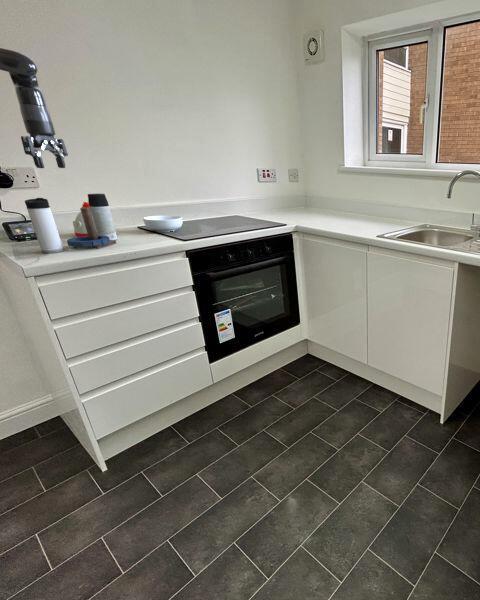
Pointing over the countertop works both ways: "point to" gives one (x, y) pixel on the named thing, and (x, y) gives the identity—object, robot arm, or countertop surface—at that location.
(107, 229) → the spray can
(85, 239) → the ring
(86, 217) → the post
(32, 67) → the robot arm
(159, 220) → the cereal bowl
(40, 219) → the travel mug
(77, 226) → the kitchen timer
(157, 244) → the countertop surface
